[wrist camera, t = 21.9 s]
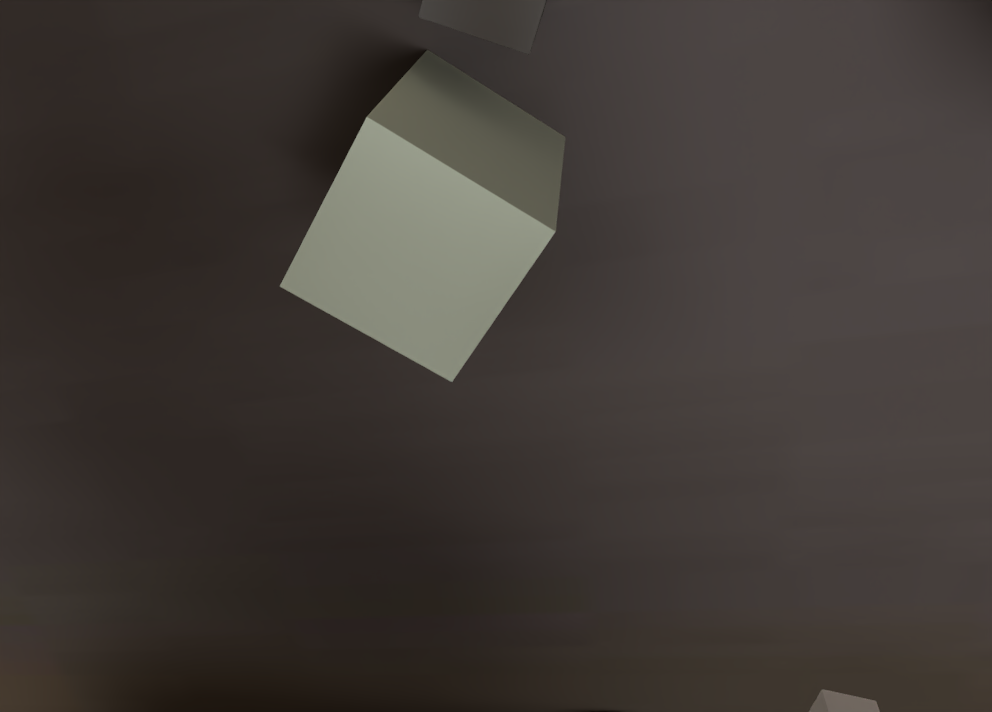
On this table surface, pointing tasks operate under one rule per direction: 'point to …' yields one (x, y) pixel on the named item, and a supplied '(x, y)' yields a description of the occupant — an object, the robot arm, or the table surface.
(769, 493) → the table surface
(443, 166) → the tall sage green block
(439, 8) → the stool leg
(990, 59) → the table surface
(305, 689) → the table surface
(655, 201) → the table surface
